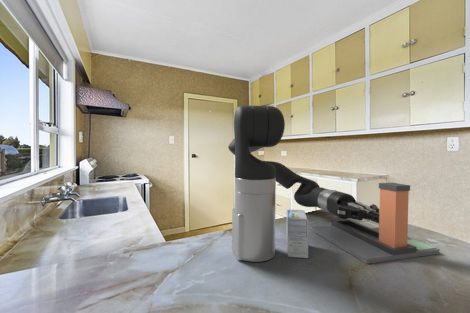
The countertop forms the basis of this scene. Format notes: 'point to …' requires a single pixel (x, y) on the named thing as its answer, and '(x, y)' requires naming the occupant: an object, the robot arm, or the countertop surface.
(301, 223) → the medicine box
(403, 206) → the handle
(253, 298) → the countertop surface
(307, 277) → the countertop surface
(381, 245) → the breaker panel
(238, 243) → the robot arm
